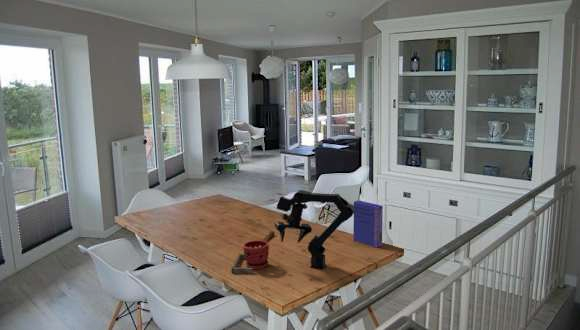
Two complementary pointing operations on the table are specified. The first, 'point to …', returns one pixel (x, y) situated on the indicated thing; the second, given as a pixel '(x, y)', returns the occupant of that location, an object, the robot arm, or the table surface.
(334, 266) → the table surface
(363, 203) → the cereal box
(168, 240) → the table surface
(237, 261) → the walnut corral
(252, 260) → the plant pot
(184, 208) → the table surface
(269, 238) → the primitive tool
